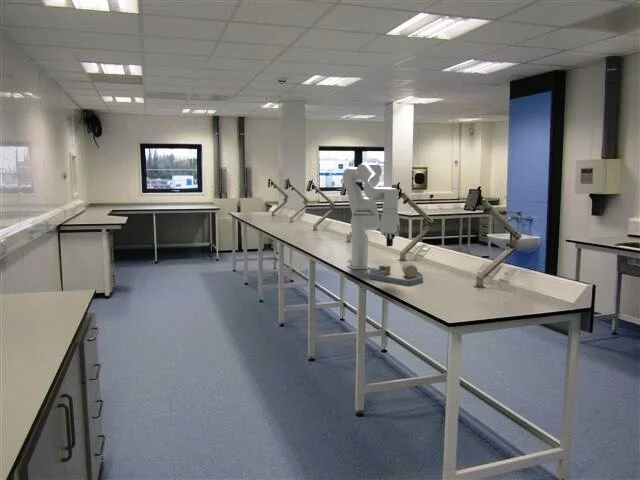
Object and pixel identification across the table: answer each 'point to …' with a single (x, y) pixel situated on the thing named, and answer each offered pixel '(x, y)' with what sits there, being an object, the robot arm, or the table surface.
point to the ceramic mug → (410, 270)
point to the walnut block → (385, 268)
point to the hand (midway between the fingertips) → (389, 246)
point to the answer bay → (395, 280)
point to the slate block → (374, 270)
